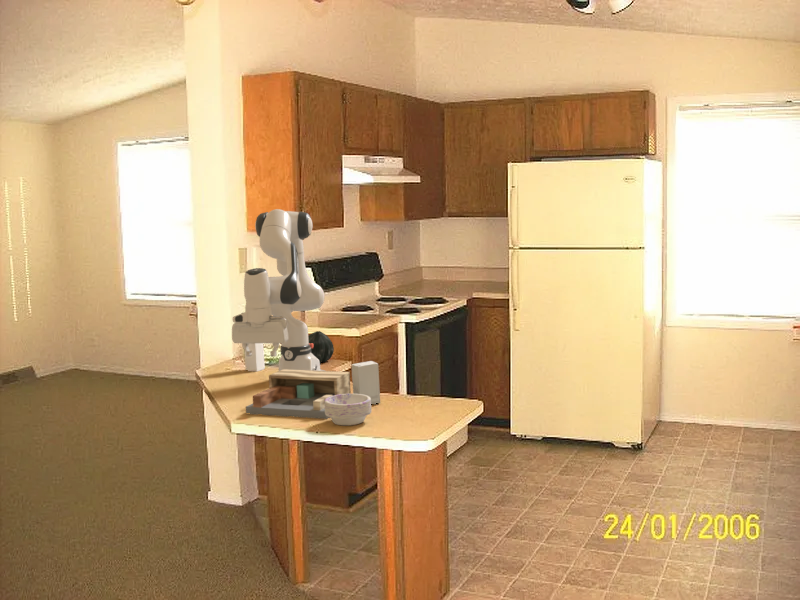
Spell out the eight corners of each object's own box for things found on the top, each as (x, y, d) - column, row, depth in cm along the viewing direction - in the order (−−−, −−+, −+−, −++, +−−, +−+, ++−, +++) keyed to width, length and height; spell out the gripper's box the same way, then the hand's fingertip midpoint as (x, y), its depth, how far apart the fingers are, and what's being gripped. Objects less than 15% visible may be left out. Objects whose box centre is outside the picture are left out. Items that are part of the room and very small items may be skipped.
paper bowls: (358, 430, 271) (357, 405, 270) (316, 426, 278) (315, 402, 277) (379, 418, 285) (378, 394, 284) (339, 414, 291) (338, 391, 290)
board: (282, 396, 322) (282, 390, 321) (358, 400, 310) (358, 394, 310) (246, 413, 298) (245, 406, 297) (326, 418, 286) (326, 411, 286)
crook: (276, 396, 311) (275, 385, 311) (295, 397, 308) (295, 386, 308) (253, 407, 296) (252, 395, 296) (273, 408, 293) (272, 396, 293)
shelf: (284, 390, 321) (283, 369, 320) (350, 393, 311) (349, 371, 310) (269, 397, 311) (268, 375, 310) (337, 400, 301) (336, 378, 300)
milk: (256, 371, 372) (253, 321, 370) (245, 370, 375) (242, 320, 372) (265, 368, 378) (262, 319, 375) (253, 368, 380) (250, 318, 378)
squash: (307, 345, 401) (301, 325, 390) (338, 346, 398) (333, 326, 387) (301, 370, 392) (294, 350, 380) (333, 371, 389) (327, 351, 378)
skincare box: (373, 401, 309) (372, 360, 308) (381, 404, 304) (379, 362, 302) (352, 404, 306) (350, 363, 304) (359, 407, 300) (357, 365, 299)
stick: (326, 403, 298) (326, 394, 298) (333, 403, 297) (332, 394, 297) (313, 409, 289) (313, 401, 289) (320, 410, 288) (319, 401, 288)
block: (303, 395, 312) (302, 382, 311) (314, 395, 310) (313, 383, 310) (297, 397, 308) (296, 385, 307) (308, 398, 306) (307, 386, 306)
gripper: (290, 314, 294) (292, 354, 295) (237, 315, 301) (240, 354, 302) (281, 316, 288) (284, 357, 289) (228, 317, 295) (230, 357, 296)
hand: (261, 356), depth 295 cm, fingers open, 8 cm apart
